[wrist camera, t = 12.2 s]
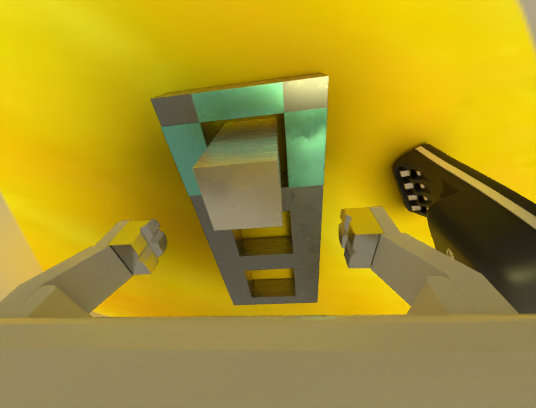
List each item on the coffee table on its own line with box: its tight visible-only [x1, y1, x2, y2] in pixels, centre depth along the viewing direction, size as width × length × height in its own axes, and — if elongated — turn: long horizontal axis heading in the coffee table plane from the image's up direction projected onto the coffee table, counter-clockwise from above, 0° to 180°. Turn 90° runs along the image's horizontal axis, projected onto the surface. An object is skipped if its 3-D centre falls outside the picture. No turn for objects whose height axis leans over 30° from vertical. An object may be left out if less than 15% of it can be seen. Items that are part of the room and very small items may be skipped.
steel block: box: [192, 117, 283, 231], centre depth 14 cm, size 4×4×8 cm
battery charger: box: [393, 144, 536, 314], centre depth 14 cm, size 7×4×11 cm, turn 34°
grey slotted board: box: [151, 73, 329, 305], centre depth 21 cm, size 25×11×3 cm, turn 6°
